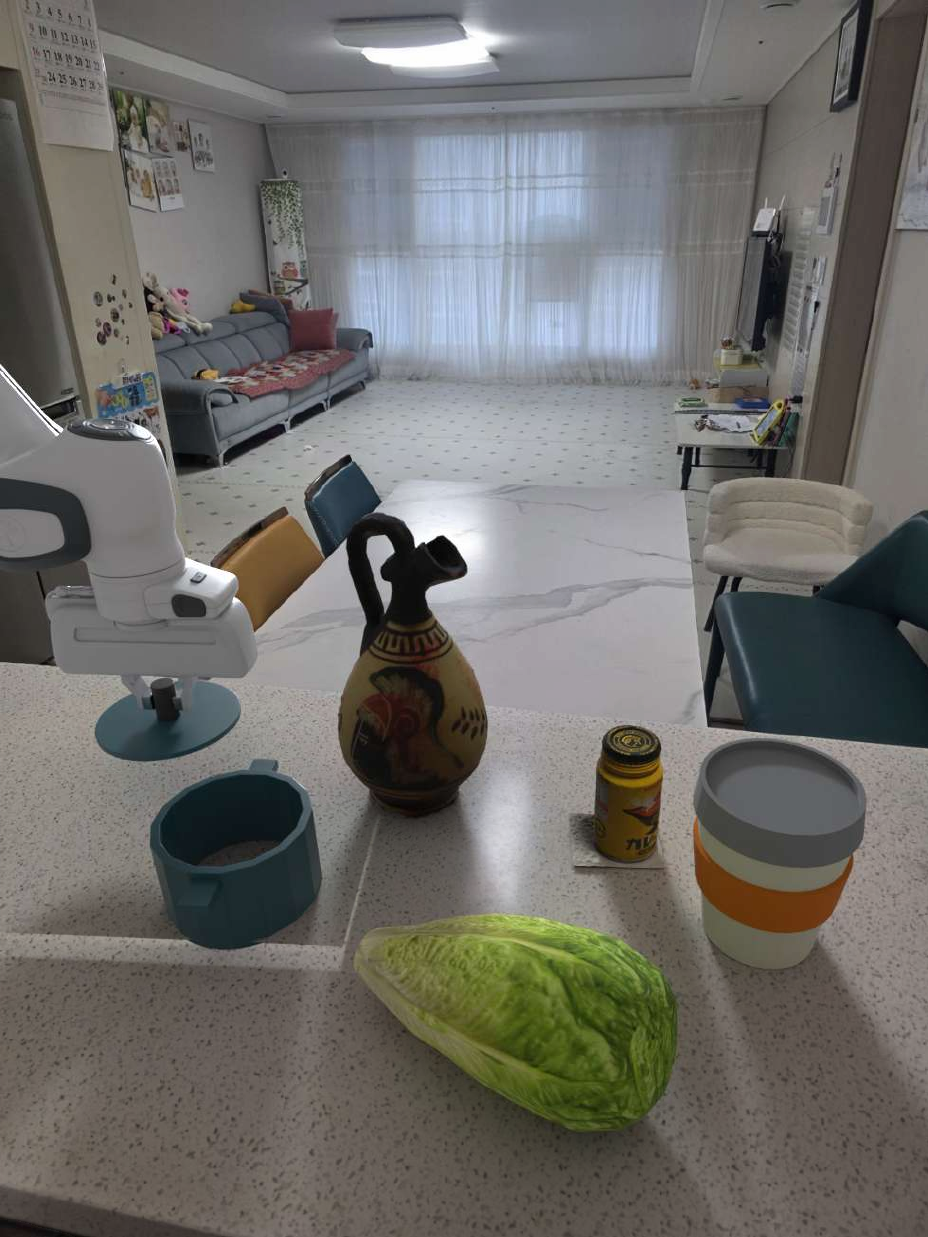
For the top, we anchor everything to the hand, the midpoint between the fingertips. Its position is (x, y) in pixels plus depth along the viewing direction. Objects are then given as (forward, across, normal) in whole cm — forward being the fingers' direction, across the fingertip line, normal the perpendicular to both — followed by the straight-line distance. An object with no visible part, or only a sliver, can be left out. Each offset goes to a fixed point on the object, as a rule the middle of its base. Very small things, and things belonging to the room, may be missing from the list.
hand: (167, 707), depth 87 cm
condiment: (+9, +46, -8) cm, 48 cm away
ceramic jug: (+9, +26, 0) cm, 27 cm away
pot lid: (+2, 0, 0) cm, 2 cm away
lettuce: (+9, +36, -30) cm, 48 cm away
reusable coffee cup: (+9, +58, -18) cm, 61 cm away
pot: (+9, +12, -16) cm, 22 cm away
